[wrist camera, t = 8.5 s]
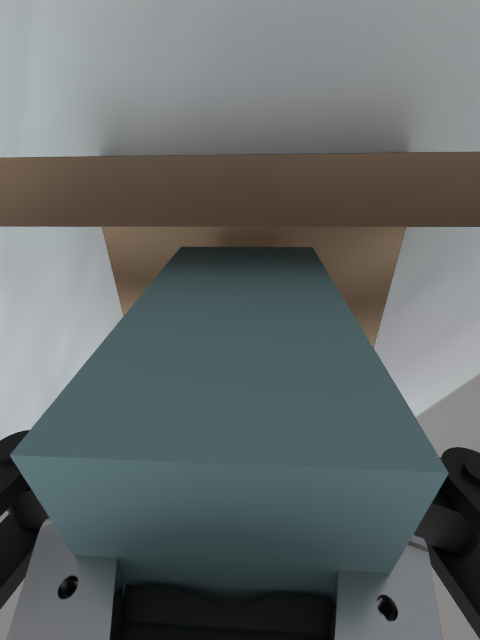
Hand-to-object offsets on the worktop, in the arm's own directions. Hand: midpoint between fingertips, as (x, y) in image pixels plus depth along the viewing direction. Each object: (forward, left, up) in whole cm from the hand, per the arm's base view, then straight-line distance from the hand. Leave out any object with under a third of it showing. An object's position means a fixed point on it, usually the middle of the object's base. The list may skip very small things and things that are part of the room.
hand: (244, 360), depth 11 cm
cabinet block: (0, 0, -1) cm, 1 cm away
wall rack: (-1, 0, -8) cm, 8 cm away
